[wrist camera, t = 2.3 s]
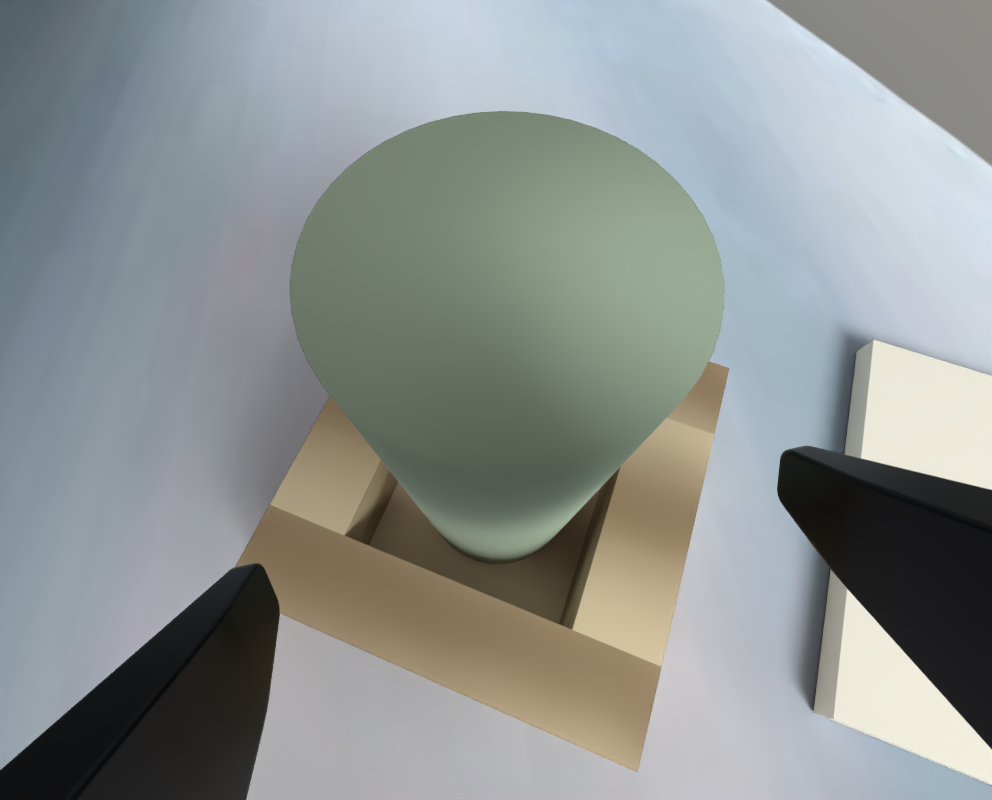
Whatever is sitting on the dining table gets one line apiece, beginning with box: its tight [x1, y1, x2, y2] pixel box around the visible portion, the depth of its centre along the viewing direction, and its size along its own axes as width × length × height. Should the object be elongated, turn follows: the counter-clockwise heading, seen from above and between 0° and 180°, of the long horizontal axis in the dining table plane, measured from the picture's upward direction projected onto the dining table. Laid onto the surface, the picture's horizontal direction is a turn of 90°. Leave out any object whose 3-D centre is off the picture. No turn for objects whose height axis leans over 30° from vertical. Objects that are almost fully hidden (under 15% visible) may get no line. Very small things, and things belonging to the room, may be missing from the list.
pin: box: [290, 111, 724, 564], centre depth 12 cm, size 5×5×13 cm
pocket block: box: [235, 362, 729, 772], centre depth 17 cm, size 12×12×4 cm
